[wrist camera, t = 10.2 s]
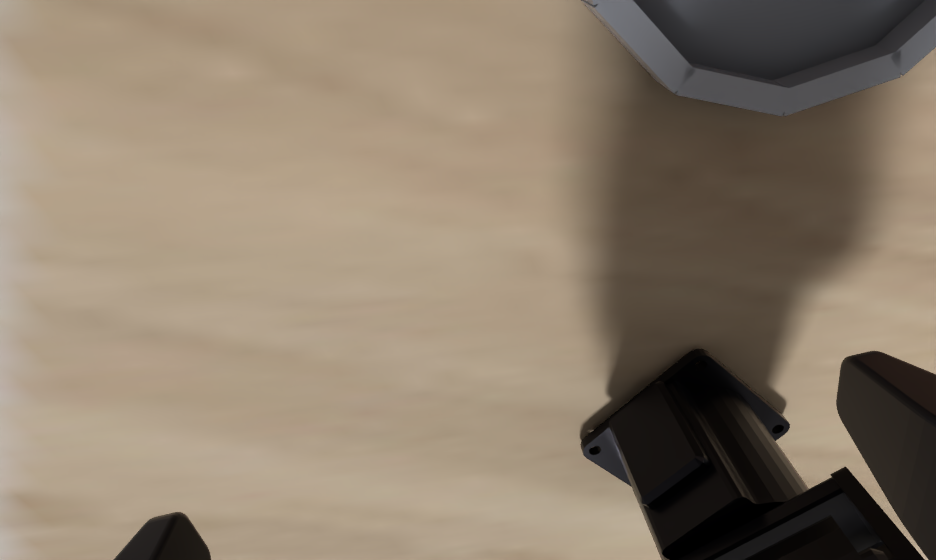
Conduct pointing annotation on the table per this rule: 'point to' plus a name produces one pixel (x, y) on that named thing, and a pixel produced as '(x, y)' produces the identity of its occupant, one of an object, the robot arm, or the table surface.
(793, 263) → the table surface
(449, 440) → the table surface
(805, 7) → the bowl
